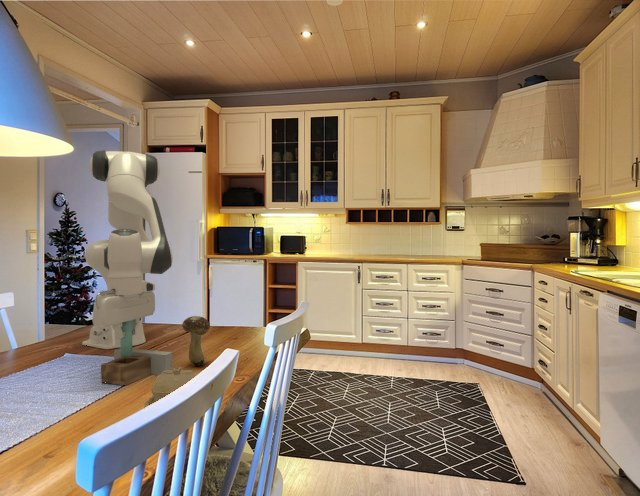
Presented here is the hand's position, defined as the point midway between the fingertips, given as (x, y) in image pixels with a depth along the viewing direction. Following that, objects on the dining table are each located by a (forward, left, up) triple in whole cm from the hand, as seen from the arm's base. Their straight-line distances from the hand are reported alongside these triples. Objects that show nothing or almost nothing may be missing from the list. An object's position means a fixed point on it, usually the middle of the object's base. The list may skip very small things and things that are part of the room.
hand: (126, 336), depth 116 cm
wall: (0, +7, -12) cm, 13 cm away
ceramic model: (+27, -15, -12) cm, 33 cm away
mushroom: (+12, +16, -12) cm, 23 cm away
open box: (0, 0, -12) cm, 12 cm away
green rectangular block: (0, 0, -5) cm, 5 cm away
